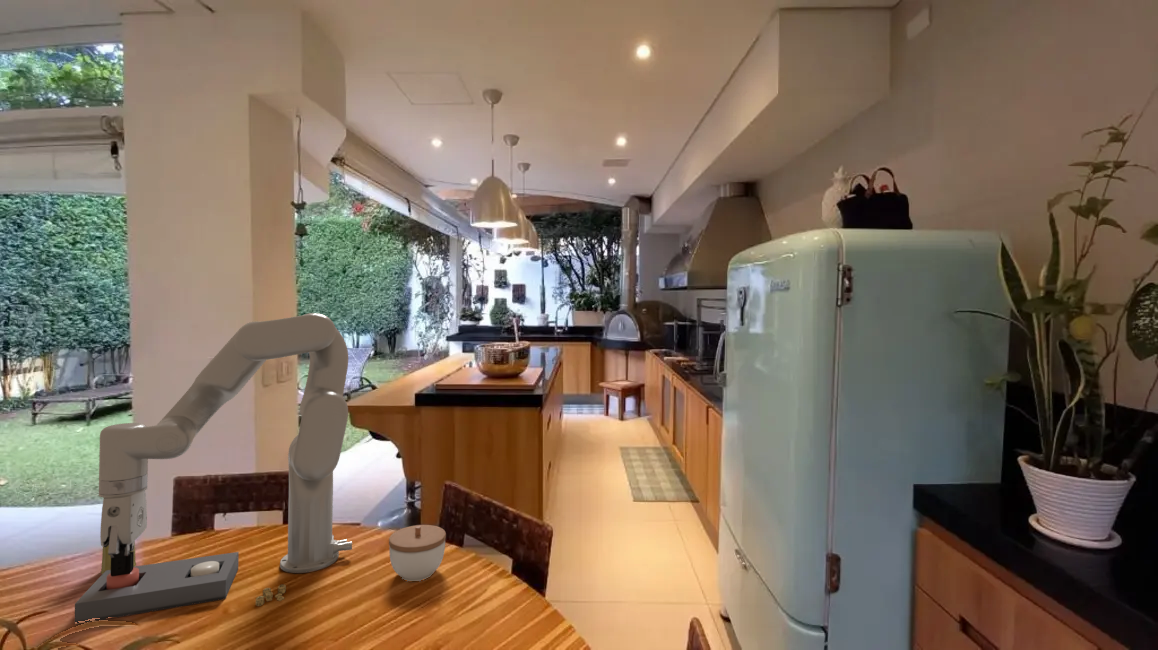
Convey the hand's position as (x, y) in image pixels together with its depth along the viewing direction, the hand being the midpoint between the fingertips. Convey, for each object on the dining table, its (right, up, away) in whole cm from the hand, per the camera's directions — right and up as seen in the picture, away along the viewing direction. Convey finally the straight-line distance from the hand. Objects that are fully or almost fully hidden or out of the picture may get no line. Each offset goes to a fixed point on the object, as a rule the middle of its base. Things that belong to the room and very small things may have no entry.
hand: (122, 573), depth 106 cm
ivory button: (+13, -4, +6) cm, 15 cm away
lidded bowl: (+56, -7, +14) cm, 59 cm away
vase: (-12, -6, +13) cm, 19 cm away
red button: (0, -3, 0) cm, 3 cm away
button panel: (+6, -6, +3) cm, 9 cm away
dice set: (+29, -7, +3) cm, 30 cm away
